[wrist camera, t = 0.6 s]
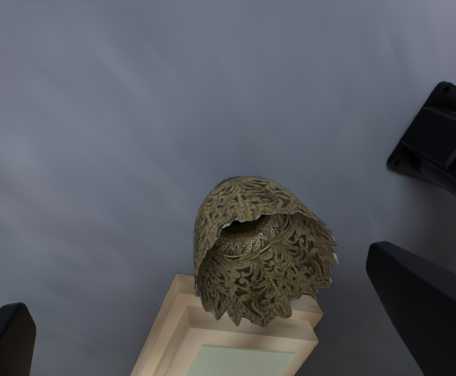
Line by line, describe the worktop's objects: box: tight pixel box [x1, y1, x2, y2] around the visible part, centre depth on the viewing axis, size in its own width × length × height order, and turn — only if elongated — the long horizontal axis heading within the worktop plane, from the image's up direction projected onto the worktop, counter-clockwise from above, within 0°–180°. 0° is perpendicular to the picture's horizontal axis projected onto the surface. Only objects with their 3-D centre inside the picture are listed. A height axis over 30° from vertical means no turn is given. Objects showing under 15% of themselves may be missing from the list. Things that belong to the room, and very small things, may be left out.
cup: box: [193, 176, 339, 327], centre depth 20 cm, size 8×7×8 cm
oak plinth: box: [130, 273, 324, 376], centre depth 29 cm, size 13×13×4 cm
